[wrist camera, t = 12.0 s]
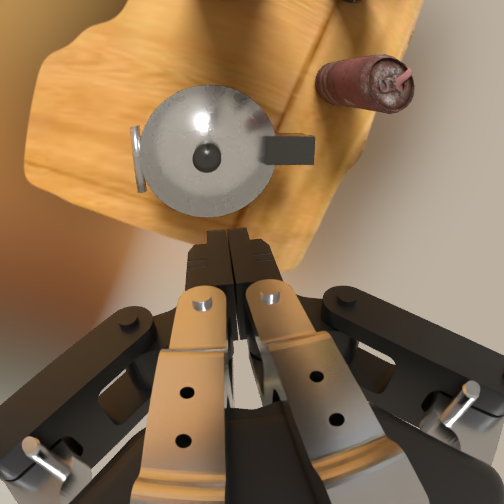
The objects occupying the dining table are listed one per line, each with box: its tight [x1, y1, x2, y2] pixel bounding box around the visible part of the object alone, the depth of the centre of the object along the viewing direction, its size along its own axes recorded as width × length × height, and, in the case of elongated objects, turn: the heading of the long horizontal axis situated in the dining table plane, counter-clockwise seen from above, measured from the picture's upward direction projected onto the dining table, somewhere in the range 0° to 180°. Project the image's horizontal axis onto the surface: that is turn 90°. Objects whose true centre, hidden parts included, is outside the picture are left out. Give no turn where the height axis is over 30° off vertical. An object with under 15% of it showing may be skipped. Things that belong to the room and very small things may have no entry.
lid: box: [130, 85, 315, 217], centre depth 27 cm, size 14×18×4 cm
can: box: [316, 54, 414, 114], centre depth 28 cm, size 6×6×14 cm
